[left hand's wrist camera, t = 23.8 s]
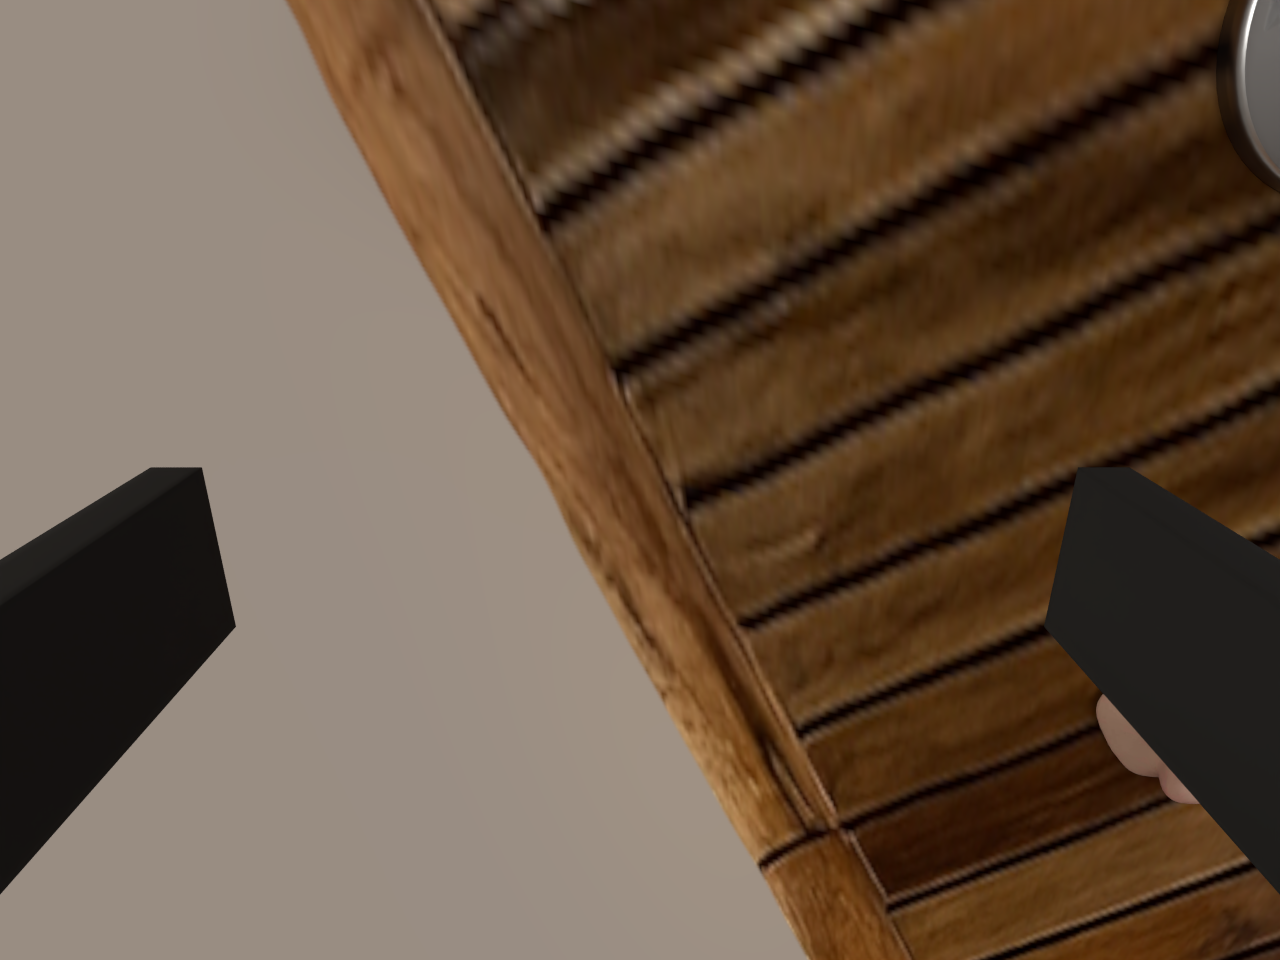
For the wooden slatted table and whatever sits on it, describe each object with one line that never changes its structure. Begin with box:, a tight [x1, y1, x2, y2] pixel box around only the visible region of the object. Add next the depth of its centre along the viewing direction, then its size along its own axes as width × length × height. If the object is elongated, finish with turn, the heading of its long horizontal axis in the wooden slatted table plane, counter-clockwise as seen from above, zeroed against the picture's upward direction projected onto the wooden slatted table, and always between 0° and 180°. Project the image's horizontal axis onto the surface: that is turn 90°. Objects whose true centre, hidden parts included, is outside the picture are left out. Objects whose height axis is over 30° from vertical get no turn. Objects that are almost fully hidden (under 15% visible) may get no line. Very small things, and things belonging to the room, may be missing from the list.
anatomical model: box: [1096, 694, 1200, 804], centre depth 48 cm, size 13×4×12 cm
